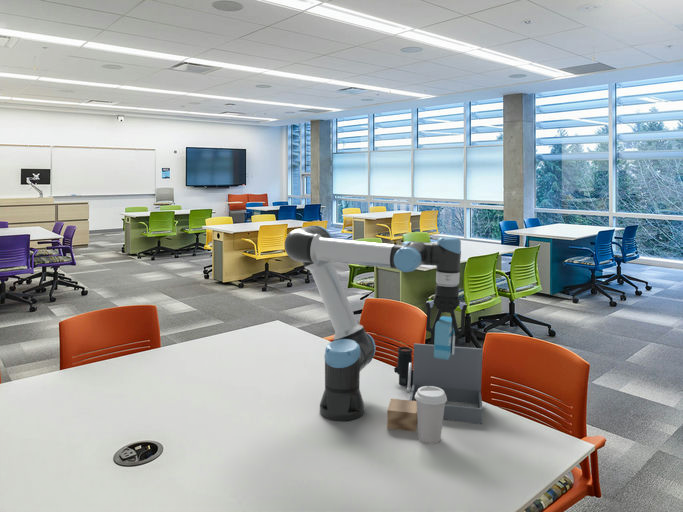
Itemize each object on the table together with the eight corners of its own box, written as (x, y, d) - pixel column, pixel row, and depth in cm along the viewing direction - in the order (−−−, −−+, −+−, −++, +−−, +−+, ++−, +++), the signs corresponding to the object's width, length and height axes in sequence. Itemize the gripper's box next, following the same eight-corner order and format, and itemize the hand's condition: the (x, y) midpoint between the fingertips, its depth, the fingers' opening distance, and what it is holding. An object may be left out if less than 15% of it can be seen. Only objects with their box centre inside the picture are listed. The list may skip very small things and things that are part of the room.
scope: (420, 353, 188) (393, 351, 190) (419, 389, 189) (392, 386, 192) (421, 347, 195) (396, 345, 198) (420, 381, 197) (395, 378, 200)
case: (403, 415, 168) (404, 357, 165) (408, 396, 183) (409, 343, 180) (482, 424, 162) (484, 364, 159) (480, 403, 177) (482, 348, 175)
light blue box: (447, 361, 163) (449, 325, 161) (433, 359, 165) (435, 323, 163) (453, 350, 174) (455, 316, 172) (440, 348, 176) (442, 315, 174)
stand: (387, 428, 159) (387, 410, 158) (390, 415, 168) (391, 398, 167) (415, 431, 157) (416, 413, 156) (418, 418, 166) (418, 401, 165)
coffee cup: (447, 433, 156) (449, 387, 154) (443, 448, 147) (445, 399, 145) (416, 428, 159) (418, 383, 157) (410, 443, 150) (412, 395, 148)
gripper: (418, 284, 164) (415, 353, 167) (476, 288, 160) (472, 358, 164) (420, 280, 171) (417, 346, 175) (475, 283, 167) (471, 351, 171)
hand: (444, 352), depth 169 cm, fingers closed on light blue box, 5 cm apart
